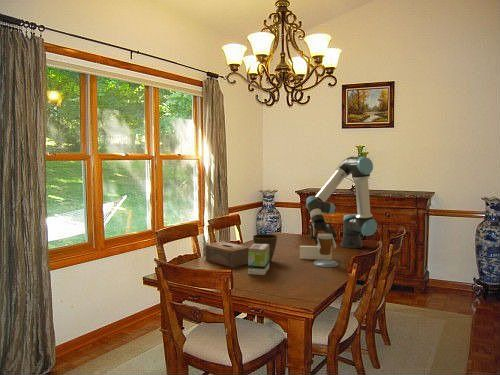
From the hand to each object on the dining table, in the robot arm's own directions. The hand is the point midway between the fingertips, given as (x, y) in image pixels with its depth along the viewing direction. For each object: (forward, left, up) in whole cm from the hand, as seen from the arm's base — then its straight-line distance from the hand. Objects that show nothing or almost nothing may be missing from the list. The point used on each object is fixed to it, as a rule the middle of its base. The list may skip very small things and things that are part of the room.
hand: (327, 247), depth 254 cm
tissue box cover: (+43, -44, -11) cm, 63 cm away
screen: (-6, -16, -11) cm, 20 cm away
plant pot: (+24, -30, -11) cm, 40 cm away
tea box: (+40, -14, -11) cm, 44 cm away
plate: (-2, -3, -11) cm, 11 cm away
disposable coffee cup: (-1, -3, -5) cm, 6 cm away
